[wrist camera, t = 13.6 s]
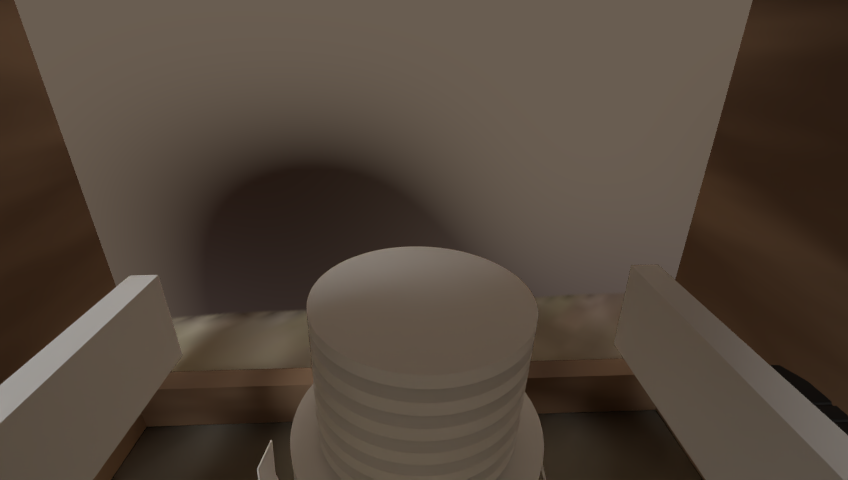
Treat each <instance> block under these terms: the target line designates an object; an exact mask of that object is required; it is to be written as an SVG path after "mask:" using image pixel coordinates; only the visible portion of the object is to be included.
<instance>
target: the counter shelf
mask: <svg viewBox="0 0 848 480" xmlns="http://www.w3.org/2000/svg"><path fill="white" fill-rule="evenodd" d="M675 280H676V281H677V282H678V283H679V284H680V285H681V286H682V287H683V288H685V289H686V290H687V291H688V292H689V293H690V294H691V295H692V296H693V297H695V298H696V299H697V300H698V301H699V302H700V303H701V304H702V305H703V306H705V307H706V308H707V309H708V310H709V311H710V312H711V313H712V314H713V315H715V316H716V317H717V318H718V319H719V320H720V321H721V322H722V323H724V324H725V325H726V326H727V327H728V328H729V329H730V330H731V331H732V332H734V333H735V334H736V335H737V336H738V337H739V338H740V339H741V340H742V341H744V342H745V343H746V344H747V345H748V346H749V347H750V348H751V349H752V350H754V351H755V352H756V353H757V354H758V355H759V356H760V357H761V358H762V359H764V360H765V361H766V362H767V363H768V364H769V365H780V366H782V367H784V368H785V369H787V370H789V371H791V372H792V373H794V374H796V375H798V376H799V377H801V378H803V379H805V380H806V381H808V382H809V383H810V384H812V385H813V386H814V387H815V388H816V389H817V390H819V391H820V392H821V393H822V394H823V395H825V396H826V397H827V398H828V399H829V400H830V401H832V405H833V406H837V407H839V408H840V409H841V410H842V411H843V412H844V413H846V414H847V415H848V0H753V2H752V5H751V9H750V12H749V16H748V19H747V23H746V27H745V31H744V34H743V37H742V41H741V45H740V48H739V52H738V56H737V59H736V63H735V66H734V70H733V74H732V77H731V81H730V85H729V88H728V92H727V95H726V99H725V102H724V106H723V110H722V113H721V117H720V121H719V124H718V128H717V132H716V135H715V139H714V142H713V146H712V150H711V153H710V157H709V160H708V164H707V167H706V171H705V175H704V178H703V182H702V186H701V189H700V193H699V196H698V200H697V204H696V207H695V211H694V214H693V218H692V222H691V225H690V229H689V233H688V236H687V240H686V244H685V247H684V251H683V255H682V258H681V262H680V265H679V269H678V273H677V276H676V279H675ZM114 288H116V286H115V283H114V280H113V277H112V274H111V271H110V268H109V266H108V263H107V260H106V257H105V254H104V252H103V249H102V246H101V243H100V240H99V238H98V235H97V232H96V229H95V226H94V224H93V221H92V218H91V215H90V212H89V209H88V207H87V204H86V201H85V198H84V195H83V193H82V190H81V187H80V184H79V181H78V179H77V176H76V173H75V170H74V167H73V165H72V162H71V159H70V156H69V153H68V150H67V148H66V145H65V142H64V139H63V136H62V134H61V131H60V128H59V125H58V122H57V120H56V117H55V114H54V111H53V108H52V106H51V103H50V100H49V97H48V94H47V92H46V89H45V86H44V83H43V81H42V77H41V75H40V72H39V69H38V66H37V63H36V61H35V58H34V55H33V52H32V49H31V47H30V44H29V41H28V38H27V35H26V32H25V30H24V27H23V25H22V21H21V19H20V16H19V13H18V10H17V7H16V5H15V2H14V0H0V385H1V384H2V383H3V382H4V381H5V380H7V379H8V378H9V377H10V376H11V375H13V374H14V373H15V372H16V371H17V370H18V369H20V368H21V367H22V366H23V365H24V364H26V363H27V362H28V361H29V360H30V359H31V358H33V357H34V356H35V355H36V354H37V353H39V352H40V351H41V350H42V349H43V348H45V347H46V346H47V345H48V344H49V343H50V342H52V341H53V340H54V339H55V338H56V337H58V336H59V335H60V334H61V333H62V332H63V331H65V330H66V329H67V328H68V327H69V326H71V325H72V324H73V323H74V322H75V321H77V320H78V319H79V318H80V317H81V316H82V315H84V314H85V313H86V312H87V311H88V310H90V309H91V308H92V307H93V306H94V305H95V304H97V303H98V302H99V301H100V300H101V299H103V298H104V297H105V296H106V295H107V294H108V293H110V292H111V291H112V290H113V289H114ZM312 384H313V373H312V368H283V369H249V370H215V371H181V372H170V373H169V375H168V376H167V377H166V379H165V380H164V382H163V383H162V384H161V386H160V387H159V389H158V390H157V391H156V393H155V394H154V396H153V397H152V398H151V400H150V401H149V402H148V404H147V405H146V407H145V408H144V409H143V411H142V412H141V414H140V415H139V416H138V418H137V419H136V421H135V422H134V423H133V425H132V426H131V428H130V429H129V430H128V432H127V433H126V435H125V436H124V437H123V439H122V440H121V441H120V443H119V444H118V446H117V447H116V448H115V450H114V451H113V453H112V454H111V455H110V457H109V458H108V460H107V461H106V462H105V464H104V465H103V467H102V468H101V469H100V471H99V472H98V474H97V475H96V476H95V478H94V479H93V480H111V479H112V477H113V476H114V474H115V473H116V472H117V470H118V469H119V467H120V466H121V464H122V463H123V461H124V460H125V458H126V457H127V455H128V454H129V452H130V451H131V449H132V448H133V446H134V445H135V443H136V442H137V440H138V439H139V437H140V436H141V434H142V433H143V431H144V430H145V428H146V427H149V426H179V425H209V424H240V423H270V422H293V419H294V416H295V413H296V411H297V408H298V406H299V404H300V402H301V400H302V398H303V397H304V395H305V394H306V392H307V391H308V389H309V388H310V387H311V386H312ZM525 393H526V394H527V396H528V397H529V399H530V400H531V402H532V404H533V406H534V408H535V409H536V412H537V414H541V413H571V412H601V411H632V410H656V411H657V412H658V414H659V415H660V417H661V418H662V420H663V421H664V423H665V424H666V426H667V427H668V429H669V430H670V432H671V433H672V435H673V436H674V438H675V439H676V441H677V442H678V443H679V445H680V446H681V448H682V449H683V451H684V452H685V454H686V455H687V457H688V458H689V460H690V461H691V463H692V464H693V466H694V467H695V469H696V470H697V472H698V473H699V475H700V476H701V478H702V479H703V480H705V478H704V477H703V475H702V474H701V472H700V471H699V469H698V468H697V467H696V465H695V464H694V462H693V461H692V459H691V458H690V456H689V455H688V453H687V452H686V450H685V449H684V447H683V446H682V444H681V443H680V441H679V440H678V438H677V437H676V435H675V434H674V432H673V431H672V430H671V428H670V427H669V425H668V424H667V422H666V421H665V419H664V418H663V416H662V415H661V413H660V412H659V410H658V409H657V407H656V406H655V404H654V403H653V401H652V400H651V398H650V397H649V395H648V394H647V392H646V391H645V390H644V388H643V387H642V385H641V384H640V382H639V381H638V379H637V378H636V376H635V375H634V373H633V372H632V370H631V369H630V367H629V366H628V364H627V363H626V361H625V360H624V359H590V360H556V361H530V366H529V373H528V378H527V383H526V389H525Z"/></svg>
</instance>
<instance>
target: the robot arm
mask: <svg viewBox="0 0 848 480" xmlns="http://www.w3.org/2000/svg"><path fill="white" fill-rule="evenodd" d="M614 345H615V347H616V348H617V350H618V351H619V353H620V354H621V355H622V357H623V358H624V360H625V361H626V363H627V364H628V366H629V367H630V369H631V370H632V372H633V373H634V375H635V376H636V378H637V379H638V381H639V382H640V384H641V385H642V387H643V388H644V390H645V391H646V392H647V394H648V395H649V397H650V398H651V400H652V401H653V403H654V404H655V406H656V407H657V409H658V410H659V412H660V413H661V415H662V416H663V418H664V419H665V421H666V422H667V424H668V425H669V427H670V428H671V430H672V431H673V432H674V434H675V435H676V437H677V438H678V440H679V441H680V443H681V444H682V446H683V447H684V449H685V450H686V452H687V453H688V455H689V456H690V458H691V459H692V461H693V462H694V464H695V465H696V467H697V468H698V469H699V471H700V472H701V474H702V475H703V477H704V478H705V480H848V415H847V414H846V413H844V412H843V411H842V410H841V409H840V408H839V407H837V406H833V405H832V401H830V400H829V399H828V398H827V397H826V396H825V395H823V394H822V393H821V392H820V391H819V390H817V389H816V388H815V387H814V386H813V385H812V384H810V383H809V382H808V381H806V380H805V379H803V378H801V377H799V376H798V375H796V374H794V373H792V372H791V371H789V370H787V369H785V368H784V367H782V366H780V365H769V364H768V363H767V362H766V361H765V360H764V359H762V358H761V357H760V356H759V355H758V354H757V353H756V352H755V351H754V350H752V349H751V348H750V347H749V346H748V345H747V344H746V343H745V342H744V341H742V340H741V339H740V338H739V337H738V336H737V335H736V334H735V333H734V332H732V331H731V330H730V329H729V328H728V327H727V326H726V325H725V324H724V323H722V322H721V321H720V320H719V319H718V318H717V317H716V316H715V315H713V314H712V313H711V312H710V311H709V310H708V309H707V308H706V307H705V306H703V305H702V304H701V303H700V302H699V301H698V300H697V299H696V298H695V297H693V296H692V295H691V294H690V293H689V292H688V291H687V290H686V289H685V288H683V287H682V286H681V285H680V284H679V283H678V282H677V281H676V280H674V279H673V278H672V277H671V276H670V275H669V274H668V273H667V272H666V271H664V270H663V269H662V268H661V267H660V266H659V265H631V269H630V273H629V278H628V282H627V287H626V291H625V296H624V300H623V304H622V309H621V313H620V318H619V322H618V327H617V331H616V336H615V340H614ZM181 357H182V352H181V348H180V345H179V342H178V338H177V335H176V332H175V329H174V325H173V322H172V319H171V315H170V312H169V309H168V306H167V302H166V299H165V296H164V293H163V289H162V286H161V283H160V279H159V276H158V275H138V276H137V275H136V276H129V277H128V278H126V279H125V280H124V281H123V282H122V283H120V284H119V285H118V286H117V287H116V288H114V289H113V290H112V291H111V292H110V293H108V294H107V295H106V296H105V297H104V298H103V299H101V300H100V301H99V302H98V303H97V304H95V305H94V306H93V307H92V308H91V309H90V310H88V311H87V312H86V313H85V314H84V315H82V316H81V317H80V318H79V319H78V320H77V321H75V322H74V323H73V324H72V325H71V326H69V327H68V328H67V329H66V330H65V331H63V332H62V333H61V334H60V335H59V336H58V337H56V338H55V339H54V340H53V341H52V342H50V343H49V344H48V345H47V346H46V347H45V348H43V349H42V350H41V351H40V352H39V353H37V354H36V355H35V356H34V357H33V358H31V359H30V360H29V361H28V362H27V363H26V364H24V365H23V366H22V367H21V368H20V369H18V370H17V371H16V372H15V373H14V374H13V375H11V376H10V377H9V378H8V379H7V380H5V381H4V382H3V383H2V384H1V385H0V480H93V479H94V478H95V476H96V475H97V474H98V472H99V471H100V469H101V468H102V467H103V465H104V464H105V462H106V461H107V460H108V458H109V457H110V455H111V454H112V453H113V451H114V450H115V448H116V447H117V446H118V444H119V443H120V441H121V440H122V439H123V437H124V436H125V435H126V433H127V432H128V430H129V429H130V428H131V426H132V425H133V423H134V422H135V421H136V419H137V418H138V416H139V415H140V414H141V412H142V411H143V409H144V408H145V407H146V405H147V404H148V402H149V401H150V400H151V398H152V397H153V396H154V394H155V393H156V391H157V390H158V389H159V387H160V386H161V384H162V383H163V382H164V380H165V379H166V377H167V376H168V375H169V373H170V372H171V370H172V369H173V368H174V366H175V365H176V363H177V362H178V361H179V359H180V358H181Z"/></svg>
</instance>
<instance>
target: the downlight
mask: <svg viewBox="0 0 848 480" xmlns="http://www.w3.org/2000/svg"><path fill="white" fill-rule="evenodd" d="M306 307H307V320H308V327H309V342H310V351H311V363H312V373H313V384H312V386H311V387H310V388H309V389H308V391H307V392H306V394H305V395H304V397H303V398H302V400H301V402H300V404H299V406H298V408H297V411H296V413H295V416H294V419H293V423H292V427H291V435H290V452H291V460H292V466H293V473H294V480H539V476H540V472H541V471H542V475H543V480H546V475H545V471H544V466H543V456H544V438H543V432H542V427H541V423H540V420H539V417H538V414H537V412H536V409H535V408H534V406H533V404H532V402H531V400H530V399H529V397H528V396H527V394H526V393H525V389H526V383H527V378H528V373H529V366H530V361H531V356H532V350H533V344H534V337H535V333H536V328H537V322H538V307H537V303H536V300H535V297H534V296H533V294H532V292H531V291H530V289H529V288H528V287H527V286H526V284H524V282H523V281H522V280H521V279H519V278H518V277H517V276H516V275H515V274H513V273H512V272H510V271H509V270H507V269H505V268H504V267H502V266H500V265H498V264H497V263H494V262H492V261H490V260H487V259H485V258H482V257H479V256H476V255H473V254H469V253H466V252H462V251H457V250H451V249H446V248H437V247H423V246H416V247H415V246H410V247H395V248H387V249H381V250H376V251H372V252H368V253H364V254H361V255H358V256H355V257H352V258H350V259H348V260H345V261H343V262H341V263H339V264H337V265H336V266H334V267H333V268H331V269H330V270H328V271H327V272H326V273H325V274H323V275H322V276H321V277H320V278H319V279H318V280H317V282H316V283H315V284H314V286H313V287H312V289H311V291H310V293H309V296H308V299H307V306H306ZM257 475H258V480H279V479H278V477H277V475H276V473H275V463H274V453H273V444H272V440H270V442H269V444H268V446H267V448H266V451H265V453H264V455H263V457H262V459H261V461H260V463H259V465H258V467H257Z"/></svg>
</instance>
